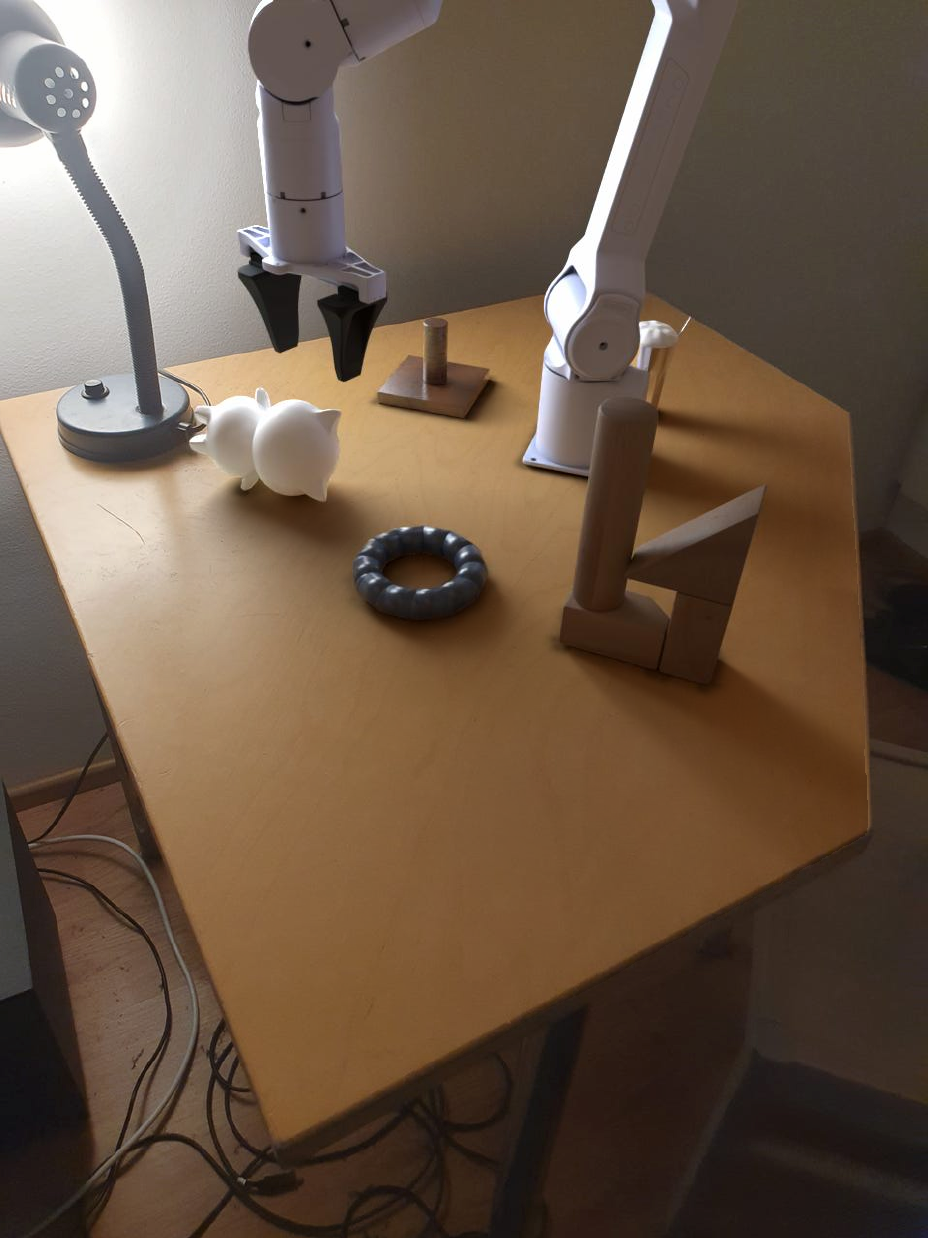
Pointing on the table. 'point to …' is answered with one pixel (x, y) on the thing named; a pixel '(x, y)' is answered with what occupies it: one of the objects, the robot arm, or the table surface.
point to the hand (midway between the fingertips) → (317, 362)
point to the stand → (434, 378)
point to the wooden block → (651, 559)
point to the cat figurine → (272, 443)
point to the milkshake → (656, 355)
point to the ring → (419, 600)
